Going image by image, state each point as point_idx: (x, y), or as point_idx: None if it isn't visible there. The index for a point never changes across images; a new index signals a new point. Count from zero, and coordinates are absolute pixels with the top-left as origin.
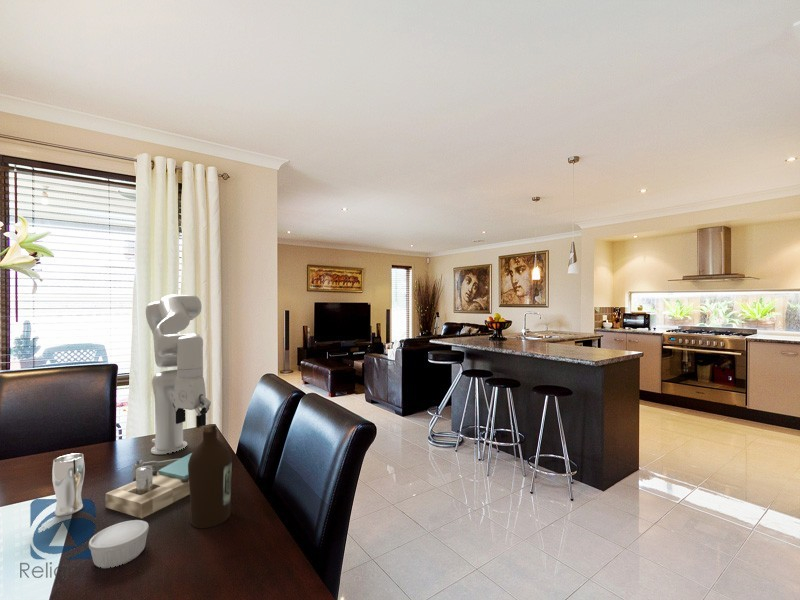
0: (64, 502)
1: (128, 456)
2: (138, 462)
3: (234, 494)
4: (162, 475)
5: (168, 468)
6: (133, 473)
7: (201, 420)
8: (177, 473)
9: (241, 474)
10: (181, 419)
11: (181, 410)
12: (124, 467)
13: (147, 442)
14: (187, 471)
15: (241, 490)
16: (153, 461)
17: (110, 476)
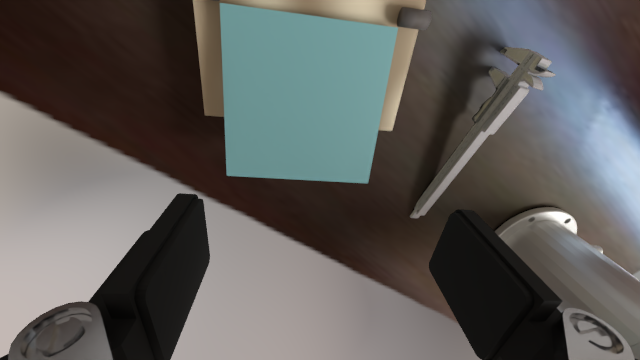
0: None
1: (621, 177)
2: (540, 69)
3: (50, 56)
4: (362, 20)
5: (362, 54)
6: (523, 49)
7: (123, 260)
8: (279, 21)
9: (183, 180)
10: (452, 259)
11: (513, 347)
12: (594, 117)
13: (611, 251)
14: (246, 48)
15: (62, 90)
16: (496, 124)
17: (607, 49)
